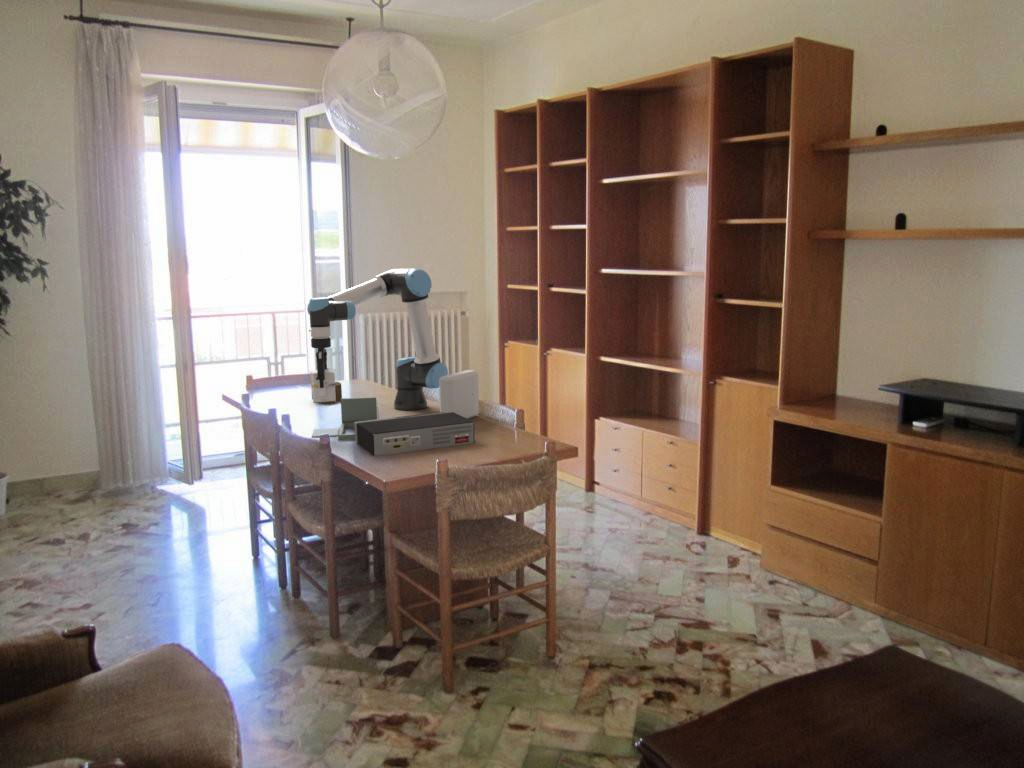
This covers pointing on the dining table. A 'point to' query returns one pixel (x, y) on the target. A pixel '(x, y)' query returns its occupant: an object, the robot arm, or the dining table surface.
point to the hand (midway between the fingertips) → (323, 393)
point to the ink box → (329, 386)
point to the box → (413, 432)
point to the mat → (331, 432)
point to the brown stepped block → (337, 391)
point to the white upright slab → (460, 393)
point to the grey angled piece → (356, 413)
